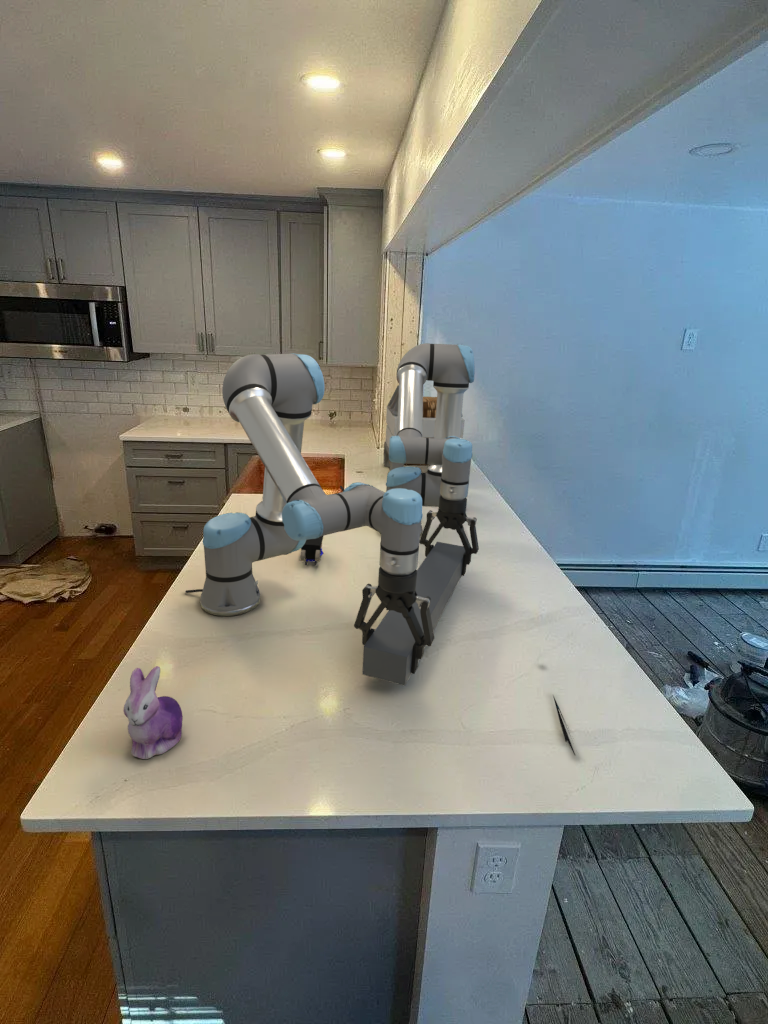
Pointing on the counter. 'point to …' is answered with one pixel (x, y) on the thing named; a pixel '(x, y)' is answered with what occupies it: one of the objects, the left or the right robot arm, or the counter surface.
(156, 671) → the figurine
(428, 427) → the white slatted crate
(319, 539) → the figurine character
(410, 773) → the counter surface
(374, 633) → the thick board
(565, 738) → the feather
